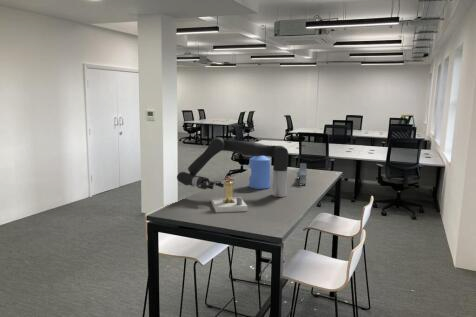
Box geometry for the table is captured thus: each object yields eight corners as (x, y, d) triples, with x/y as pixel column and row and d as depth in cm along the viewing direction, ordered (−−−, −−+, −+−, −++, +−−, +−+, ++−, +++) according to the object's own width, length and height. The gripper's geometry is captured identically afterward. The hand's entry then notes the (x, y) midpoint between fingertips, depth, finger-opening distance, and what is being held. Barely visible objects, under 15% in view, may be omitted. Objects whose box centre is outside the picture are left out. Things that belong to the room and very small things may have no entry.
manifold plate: (211, 202, 237) (211, 191, 236) (240, 201, 241) (240, 190, 240) (215, 212, 216) (215, 200, 215) (247, 211, 219) (247, 199, 218)
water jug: (274, 186, 285) (275, 149, 281) (262, 190, 273) (263, 151, 269) (256, 183, 294) (257, 147, 290) (244, 187, 282) (245, 149, 278)
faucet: (296, 191, 314) (299, 183, 285) (296, 172, 319) (299, 161, 290) (304, 192, 313) (307, 183, 285) (304, 172, 318) (307, 161, 290)
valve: (221, 206, 229) (221, 178, 226) (228, 204, 232) (228, 177, 230) (229, 208, 224) (229, 179, 222) (235, 206, 228) (236, 178, 226)
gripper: (191, 178, 238) (209, 182, 227) (209, 175, 249) (226, 178, 237) (191, 189, 240) (209, 194, 228) (209, 186, 250) (226, 190, 238)
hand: (218, 186), depth 233 cm, fingers open, 8 cm apart
